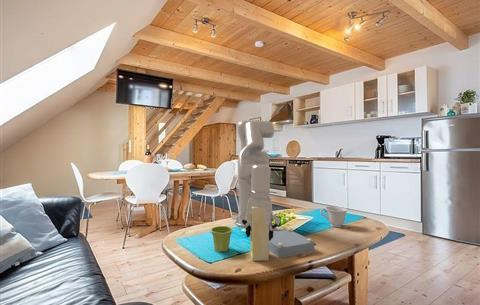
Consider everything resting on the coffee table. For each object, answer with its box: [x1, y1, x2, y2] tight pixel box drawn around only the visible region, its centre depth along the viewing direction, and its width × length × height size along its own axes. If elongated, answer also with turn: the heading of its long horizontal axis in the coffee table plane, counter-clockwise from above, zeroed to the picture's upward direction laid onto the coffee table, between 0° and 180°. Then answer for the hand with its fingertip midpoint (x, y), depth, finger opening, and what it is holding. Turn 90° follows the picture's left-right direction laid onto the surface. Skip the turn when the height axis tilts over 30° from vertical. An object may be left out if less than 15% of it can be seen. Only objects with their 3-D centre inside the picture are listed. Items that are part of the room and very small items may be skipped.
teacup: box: [319, 205, 349, 228], centre depth 149 cm, size 12×15×10 cm
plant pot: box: [210, 225, 234, 252], centre depth 111 cm, size 9×9×9 cm
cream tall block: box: [249, 205, 270, 262], centre depth 104 cm, size 8×7×21 cm
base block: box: [269, 227, 315, 259], centre depth 116 cm, size 18×18×5 cm
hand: (259, 237), depth 104 cm, fingers closed on cream tall block, 8 cm apart
